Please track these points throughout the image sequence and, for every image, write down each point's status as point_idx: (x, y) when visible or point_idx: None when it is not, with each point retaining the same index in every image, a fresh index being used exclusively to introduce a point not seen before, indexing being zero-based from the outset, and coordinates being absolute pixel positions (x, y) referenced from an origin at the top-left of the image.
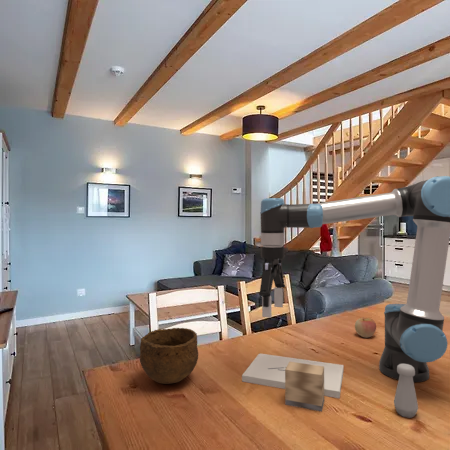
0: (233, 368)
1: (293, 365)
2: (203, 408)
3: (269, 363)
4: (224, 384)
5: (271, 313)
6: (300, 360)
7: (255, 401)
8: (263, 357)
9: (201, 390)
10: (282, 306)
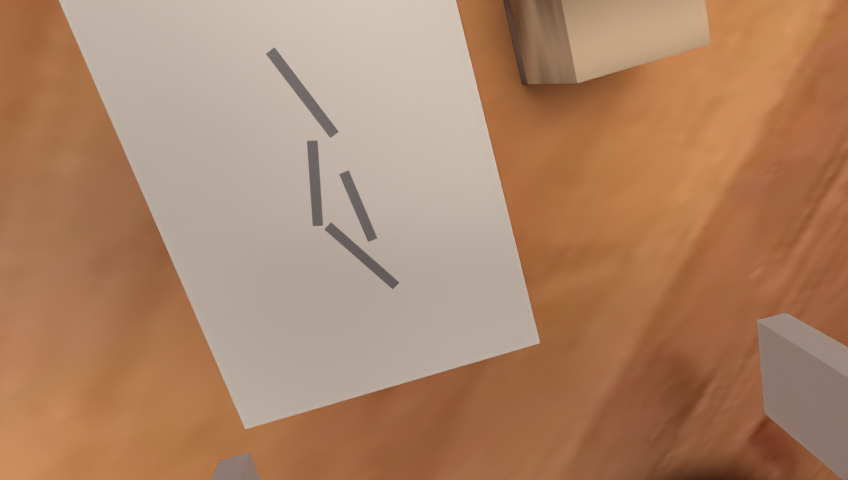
0: (437, 437)
1: (624, 28)
2: (806, 311)
3: (329, 315)
4: (598, 370)
5: (788, 340)
6: (168, 199)
7: (659, 180)
8: (281, 381)
9: (692, 407)
10: (228, 463)
